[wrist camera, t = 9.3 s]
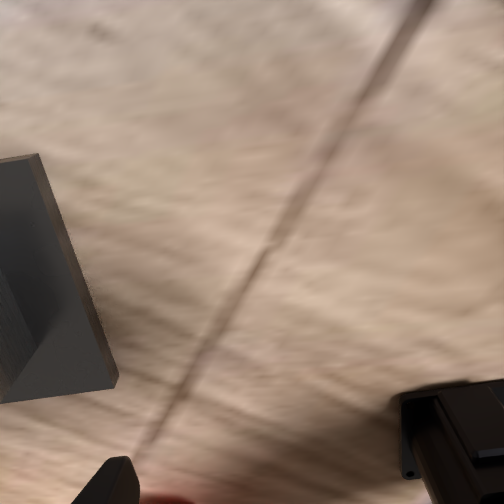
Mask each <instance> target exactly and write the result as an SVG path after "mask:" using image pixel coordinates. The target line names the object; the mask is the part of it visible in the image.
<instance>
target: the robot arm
mask: <svg viewBox="0 0 504 504" xmlns="http://www.w3.org/2000/svg"><path fill="white" fill-rule="evenodd" d="M409 402H411V403H409ZM407 403H408V404H407ZM399 452H400V471H401V474H402V477H403V478H404V479H407V480H412V479H420V478H422V479H423V482H424V484H425V487H426V489H427V491H428V494H429V496H430V499H431V501H432V504H504V381H499V382H491V383H483V384H476V385H468V386H460V387H453V388H445V389H438V390H430V391H422V392H415V393H407V394H404V395H402V396H401V397H400V398H399ZM139 498H140V484H139V480H138V477H137V475H136V472H135V470H134V467H133V464H132V462H131V460H130V458H129V457H128V456H119V457H112V458H109V459H108V460H107V461H106V462H105V463H104V464H103V465H102V466H101V468H100V469H99V470H98V471H97V473H96V474H95V475H94V476H93V477H92V479H91V480H90V481H89V482H88V483H87V485H86V486H85V487H84V488H83V490H82V491H81V492H80V493H79V494H78V496H77V497H76V498H75V499H74V501H73V502H72V503H71V504H139Z"/></svg>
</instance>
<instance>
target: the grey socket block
mask: <svg viewBox="0 0 504 504" xmlns="http://www.w3.org/2000/svg"><path fill="white" fill-rule="evenodd" d="M0 267H1V269H2V271H3V273H4V275H5V278H6V280H7V282H8V284H9V287H10V289H11V291H12V293H13V295H14V298H15V300H16V302H17V304H18V307H19V309H20V311H21V313H22V315H23V318H24V320H25V322H26V324H27V327H28V329H29V331H30V333H31V335H32V338H33V340H34V342H35V344H36V346H37V350H36V352H35V353H34V355H33V356H32V358H31V359H30V360H29V362H28V363H27V365H26V366H25V368H24V369H23V371H22V372H21V374H20V375H19V376H18V378H17V379H16V381H15V382H14V384H13V385H12V387H11V388H10V390H9V391H8V393H7V394H6V395H5V397H4V398H3V400H2V401H1V403H0V404H3V403H10V402H18V401H25V400H32V399H40V398H47V397H55V396H62V395H69V394H77V393H84V392H91V391H99V390H106V389H113V388H115V385H116V383H117V380H118V377H119V373H118V370H117V367H116V365H115V362H114V359H113V356H112V354H111V351H110V348H109V346H108V343H107V340H106V337H105V335H104V332H103V329H102V326H101V324H100V321H99V318H98V315H97V313H96V310H95V307H94V304H93V302H92V299H91V296H90V293H89V291H88V288H87V285H86V283H85V280H84V277H83V274H82V272H81V269H80V266H79V263H78V261H77V258H76V255H75V252H74V250H73V247H72V244H71V241H70V239H69V236H68V233H67V230H66V228H65V225H64V222H63V220H62V217H61V214H60V211H59V209H58V206H57V203H56V200H55V198H54V195H53V192H52V189H51V187H50V184H49V181H48V178H47V176H46V173H45V170H44V167H43V165H42V162H41V159H40V157H39V154H38V153H36V154H30V155H24V156H18V157H12V158H6V159H0Z"/></svg>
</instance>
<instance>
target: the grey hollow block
mask: <svg viewBox="0 0 504 504" xmlns="http://www.w3.org/2000/svg"><path fill="white" fill-rule="evenodd" d="M36 350H37V346H36V344H35V342H34V340H33V338H32V335H31V333H30V331H29V329H28V327H27V324H26V322H25V320H24V318H23V315H22V313H21V311H20V309H19V307H18V304H17V302H16V300H15V298H14V295H13V293H12V291H11V289H10V287H9V284H8V282H7V280H6V278H5V275H4V273H3V271H2V269H1V267H0V403H1V401H2V400H3V398H4V397H5V395H6V394H7V393H8V391H9V390H10V388H11V387H12V385H13V384H14V382H15V381H16V379H17V378H18V376H19V375H20V374H21V372H22V371H23V369H24V368H25V366H26V365H27V363H28V362H29V360H30V359H31V358H32V356H33V355H34V353H35V352H36Z"/></svg>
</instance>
